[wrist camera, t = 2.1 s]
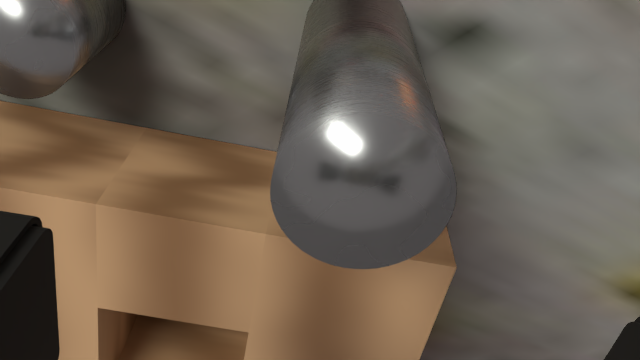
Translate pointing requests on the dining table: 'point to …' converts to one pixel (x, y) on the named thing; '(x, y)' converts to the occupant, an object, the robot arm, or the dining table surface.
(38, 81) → the short pin
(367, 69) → the tall pin
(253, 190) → the hole block
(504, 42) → the dining table surface
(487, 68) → the dining table surface
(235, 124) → the dining table surface
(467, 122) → the dining table surface
